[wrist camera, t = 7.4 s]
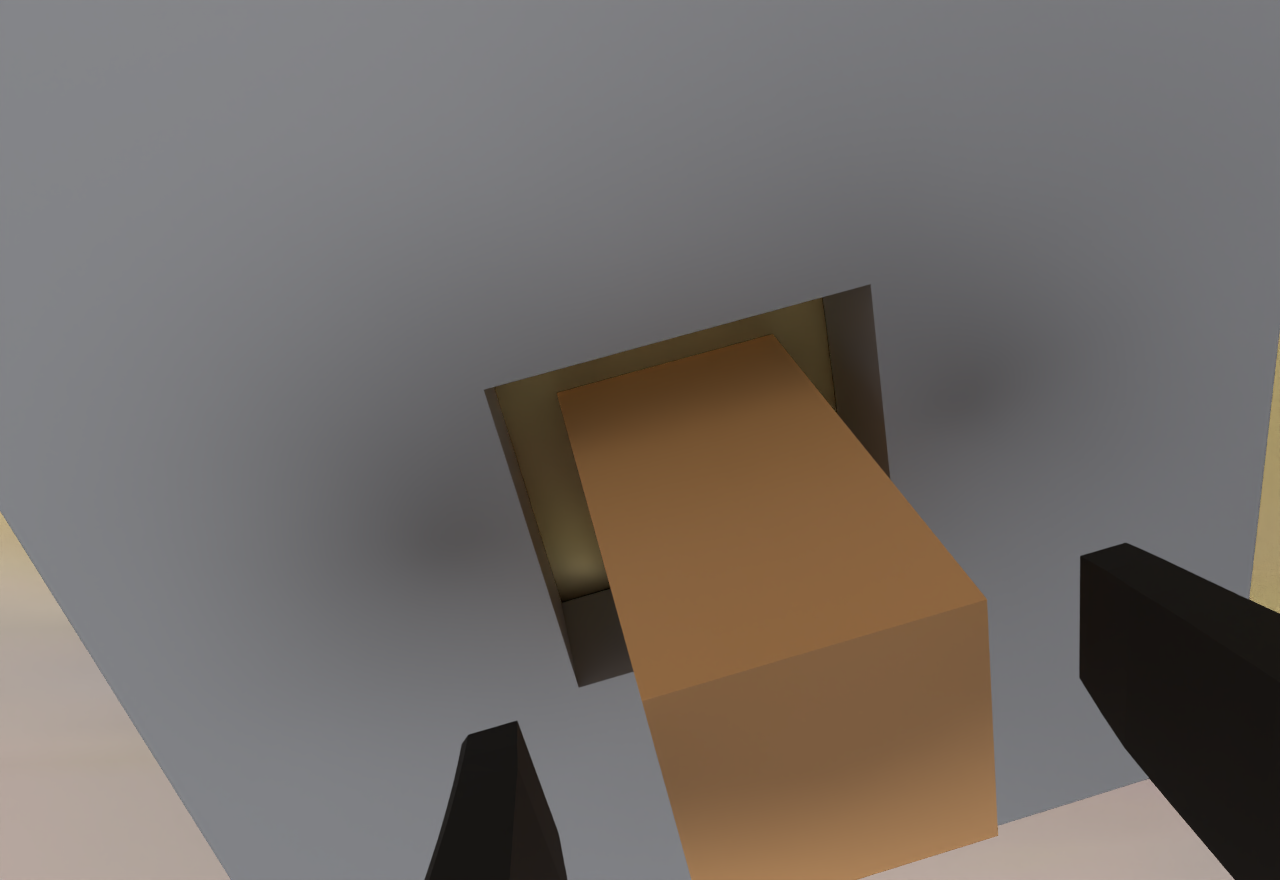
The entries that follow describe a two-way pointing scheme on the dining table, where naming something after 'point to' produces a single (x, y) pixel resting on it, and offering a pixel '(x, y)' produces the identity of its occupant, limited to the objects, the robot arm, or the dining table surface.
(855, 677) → the plug
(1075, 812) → the dining table surface
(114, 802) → the dining table surface
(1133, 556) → the robot arm
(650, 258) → the socket plate
